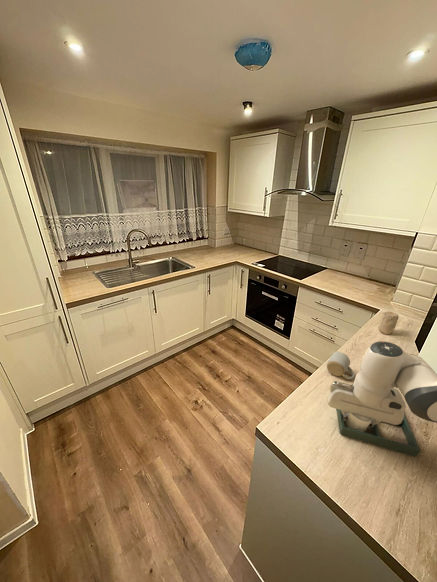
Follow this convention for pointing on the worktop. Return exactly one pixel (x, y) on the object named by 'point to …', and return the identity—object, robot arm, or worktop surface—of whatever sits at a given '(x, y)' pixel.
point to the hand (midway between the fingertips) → (356, 421)
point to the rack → (378, 440)
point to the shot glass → (358, 422)
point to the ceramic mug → (339, 365)
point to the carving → (388, 322)
